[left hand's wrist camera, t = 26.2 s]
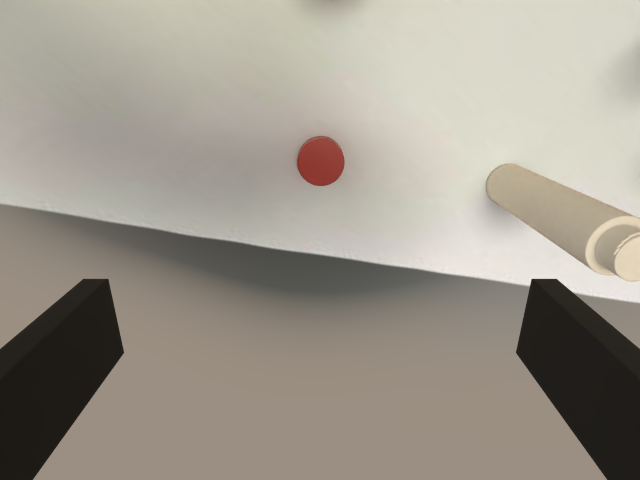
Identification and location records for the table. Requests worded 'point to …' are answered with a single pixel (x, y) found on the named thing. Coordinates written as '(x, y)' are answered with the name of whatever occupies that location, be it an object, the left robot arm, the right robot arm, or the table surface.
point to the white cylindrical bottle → (571, 220)
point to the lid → (320, 161)
